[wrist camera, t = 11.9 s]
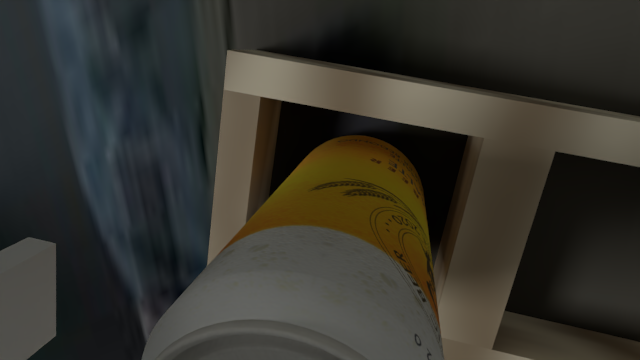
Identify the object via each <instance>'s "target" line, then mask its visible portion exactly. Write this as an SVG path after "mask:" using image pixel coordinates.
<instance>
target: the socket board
mask: <svg viewBox="0 0 640 360" xmlns="http://www.w3.org/2000/svg"><path fill="white" fill-rule="evenodd" d="M282 101H288V102H293V103H299V104H304V105H309V106H315V107H320V108H325V109H331V110H336V111H341V112H347V113H352V114H358V115H363V116H368V117H374V118H379V119H384V120H390V121H395V122H400V123H406V124H411V125H417V126H422V127H427V128H433V129H438V130H443V131H449V132H454V133H459V134H465V135H468V138H467V142H466V146H465V150H464V154H463V157H462V161H461V165H460V169H459V173H458V177H457V180H456V184H455V188H454V192H453V196H452V200H451V204H450V207H449V211H448V215H447V219H446V223H445V227H444V231H443V234H442V238H441V242H440V246H439V250H438V254H437V257H436V261H435V265H434V269H433V273H434V281H435V289H436V297H437V306H438V314H439V322H440V330H441V338H442V346H443V355H444V360H640V342H638V341H634V340H629V339H625V338H621V337H616V336H612V335H608V334H603V333H599V332H595V331H590V330H586V329H582V328H577V327H573V326H569V325H564V324H560V323H556V322H551V321H547V320H543V319H538V318H534V317H530V316H525V315H521V314H517V313H512V312H508V311H504V310H505V307H506V304H507V301H508V297H509V294H510V291H511V288H512V285H513V282H514V279H515V276H516V273H517V269H518V266H519V263H520V260H521V257H522V254H523V251H524V248H525V245H526V241H527V238H528V235H529V232H530V229H531V226H532V223H533V220H534V217H535V213H536V210H537V207H538V204H539V201H540V198H541V195H542V192H543V189H544V185H545V182H546V179H547V176H548V173H549V170H550V167H551V164H552V160H553V157H554V154H555V151H556V152H561V153H567V154H572V155H577V156H583V157H588V158H594V159H599V160H604V161H610V162H615V163H620V164H626V165H631V166H636V167H640V116H635V115H629V114H623V113H618V112H612V111H606V110H600V109H594V108H589V107H583V106H577V105H571V104H566V103H560V102H554V101H548V100H543V99H537V98H531V97H525V96H520V95H514V94H508V93H502V92H497V91H491V90H485V89H479V88H474V87H468V86H462V85H456V84H450V83H445V82H439V81H433V80H427V79H422V78H416V77H410V76H404V75H399V74H393V73H387V72H381V71H376V70H370V69H364V68H358V67H353V66H347V65H341V64H335V63H329V62H324V61H318V60H312V59H306V58H301V57H295V56H289V55H283V54H278V53H272V52H266V51H260V50H227V61H226V72H225V82H224V93H223V104H222V114H221V125H220V135H219V146H218V157H217V167H216V178H215V189H214V199H213V210H212V221H211V231H210V242H209V252H208V263H207V266H208V265H209V264H210V263H211V261H212V260H213V259H214V258H215V257H216V256H217V255H218V254H219V253H220V252H221V250H222V249H223V248H224V247H225V246H226V245H227V244H228V243H229V242H230V240H231V239H232V238H233V237H234V236H235V235H236V234H237V233H238V232H239V231H240V229H241V228H242V227H243V226H244V225H245V224H246V223H247V222H248V221H249V219H250V218H251V217H252V216H253V215H254V214H255V213H256V212H257V211H258V210H259V208H260V207H261V206H262V205H263V204H264V203H265V202H266V201H267V200H268V198H269V193H270V186H271V178H272V171H273V163H274V156H275V148H276V141H277V133H278V125H279V118H280V110H281V103H282Z"/></svg>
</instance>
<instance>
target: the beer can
mask: <svg viewBox="0 0 640 360" xmlns="http://www.w3.org/2000/svg"><path fill="white" fill-rule="evenodd" d="M142 360H444V355H443V346H442V338H441V330H440V322H439V314H438V306H437V297H436V289H435V281H434V273H433V265H432V257H431V249H430V240H429V232H428V224H427V216H426V208H425V200H424V192H423V187H422V183H421V180H420V177H419V175H418V173H417V171H416V169H415V168H414V166H413V165H412V163H411V162H410V161H409V159H408V158H407V157H406V156H405V155H404V154H403V153H402V152H400V151H399V150H398V149H397V148H395V147H393V146H392V145H390V144H388V143H386V142H384V141H382V140H379V139H376V138H373V137H369V136H361V135H349V136H342V137H338V138H334V139H332V140H329V141H327V142H325V143H323V144H321V145H319V146H318V147H317V148H315V149H314V150H313V151H312V152H310V153H309V154H308V155H307V156H306V158H305V159H304V160H303V161H302V162H301V163H300V164H299V165H298V166H297V168H296V169H295V170H294V171H293V172H292V173H291V174H290V175H289V176H288V177H287V179H286V180H285V181H284V182H283V183H282V184H281V185H280V186H279V187H278V189H277V190H276V191H275V192H274V193H273V194H272V195H271V196H270V197H269V198H268V200H267V201H266V202H265V203H264V204H263V205H262V206H261V207H260V208H259V210H258V211H257V212H256V213H255V214H254V215H253V216H252V217H251V218H250V219H249V221H248V222H247V223H246V224H245V225H244V226H243V227H242V228H241V229H240V231H239V232H238V233H237V234H236V235H235V236H234V237H233V238H232V239H231V240H230V242H229V243H228V244H227V245H226V246H225V247H224V248H223V249H222V250H221V252H220V253H219V254H218V255H217V256H216V257H215V258H214V259H213V260H212V261H211V263H210V264H209V265H208V266H207V267H206V268H205V269H204V270H203V271H202V273H201V274H200V275H199V276H198V277H197V278H196V279H195V280H194V281H193V282H192V284H191V285H190V286H189V287H188V288H187V289H186V290H185V291H184V292H183V294H182V295H181V296H180V297H179V298H178V299H177V300H176V301H175V302H174V303H173V305H172V306H171V307H170V308H169V309H168V310H167V311H166V312H165V314H164V315H163V316H162V317H161V318H160V320H159V321H158V323H157V324H156V326H155V327H154V329H153V330H152V332H151V334H150V337H149V339H148V341H147V343H146V346H145V349H144V353H143V356H142Z"/></svg>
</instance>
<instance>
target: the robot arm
mask: <svg viewBox="0 0 640 360" xmlns="http://www.w3.org/2000/svg"><path fill="white" fill-rule="evenodd" d="M55 336H56V243H51V242H47V241H43V240H39V239H34V238H30V237H28V238H26V239H24V240H22V241H20V242H18V243H16V244H14V245H12V246H10V247H8V248H6V249H4V250H2V251H0V360H26V359H28V358H29V357H30V356H31V355H33V354H34V353H35V352H36V351H37V350H39V349H40V348H41V347H42V346H44V345H45V344H46V343H47V342H49V341H50V340H51V339H52V338H53V337H55Z"/></svg>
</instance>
